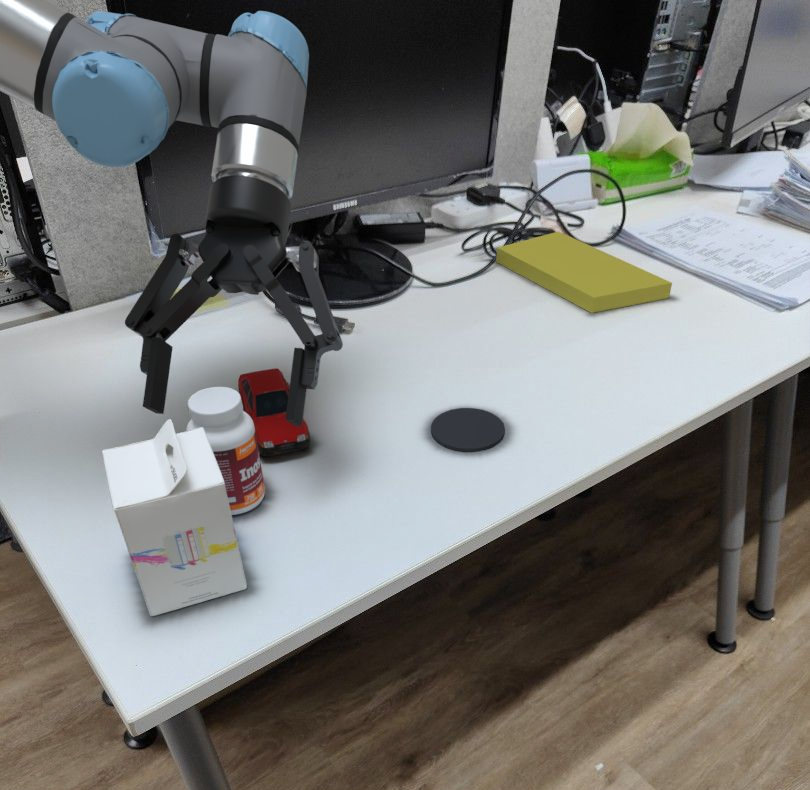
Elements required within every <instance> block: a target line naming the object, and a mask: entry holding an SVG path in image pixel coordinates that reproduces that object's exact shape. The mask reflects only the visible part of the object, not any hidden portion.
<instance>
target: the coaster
mask: <svg viewBox="0 0 810 790" xmlns="http://www.w3.org/2000/svg"><path fill="white" fill-rule="evenodd" d="M430 433H431V436H432V438H433V440H435V442H436V443H438V444H439V445H441V446H443V447H444V448H447V449H450V450H453V451H458V452H471V453H472V452H480V451H486V450H488V449H491V448H493V447H495V446H497V445H498V444H499V443H500V442H501V441H502V440H503V439H504V436H505V433H506V426H505V424H504V421H503V420H502V419H501V418H500V417H498V416H497V415H496V414H494V413H492V412H490V411H487V410H484V409H481V408H475V407H460V408H453V409H449V410H446V411H445V412H442V413H440V414H439V415H437V416H436V417H435V418H434V419H433V420H432V422H431V425H430Z"/></svg>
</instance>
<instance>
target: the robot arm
mask: <svg viewBox="0 0 810 790" xmlns="http://www.w3.org/2000/svg"><path fill="white" fill-rule="evenodd" d="M309 64H310V53H309V46H308V43H307V40H306V38H305V36H304V35H303V34H302V32H301V31H300V29H298V27H297V26H296V25H295V24H294V23H292V22H291V21H289V20H288V19H287V18H285V17H283V16H281V15H280V14H277V13H273V12H270V11H265V10H257V11H256V12H255V13H251V12H244V13H242V14H240V15H239V16H238V17H237V18H236V19H235V20H234V22H233V23H232V26H231V29H230V31H229V33H228V35H223V34H218V33H216V34H213V33H208V32H207V33H206V32H203V31H198V30H193V29H189V28H185V27H180V26H176V25H172V24H168V23H163V22H159V21H154V20H152V19H151V20H150V19H146V18H143V17H138V16H137V15H136V14H134V13H128V12H127V13H124V14H121V13H116V12H110V11H104V10H103V11H102V10H98V11H94V12H93V13H91V14H90V15H89V16H88V17H87V20H86V21H85V20H83V19H81V18H80V17H77V16H76V15H74V14H72V13H70V11H69V10H68V9H65V8H64V7H62V6H61V5H59V4H57V3H56V2H54V1H52V0H0V92H2V93H3V94H6V95H8V96H9V97H11V98H13V99H14V100H17V101H18V102H20V103H22V104H24V105H26V106H27V107H29V108H31V109H33V110H35V111H37V112H39V113H41V114H42V115H44V116H46V117H48V118H49V119H51V120H53V121H54V122H55V123H56V125H57V128H58V129H59V132H60V133H61V134H62V136H63V137H64V138H65V140H66V141H67V143H68V144H69V145H70V147H72V148H73V149H74V150H75V151H76V152H77V153H78V155H80V156H81V157H83V158H85V159H86V160H88V161H90V162H92V163H94V164H97V165H99V166H103V167H107V168H123V167H128V166H131V165H134V164H135V163H137V162H139V161H141V160H142V159H144V158H145V157H147V156H148V155H150V154H151V153H152V152H153V151H155V150H157V148H158V146H159V145H160V143H161V142H162V141H163V140H164V139H165V137H166V135H167V132H168V130H169V128H171V127H172V125H173V124H174V123H175V122H176V121H179V122H183V123H188V124H189V123H190V124H194V125H199V126H203V127H207V128H217V133H216V143H215V149H214V155H213V162H212V169H211V175H210V177H211V181H212V182H211V184H210V187H209V193H208V198H207V207H206V215H205V231H204V235H203V236H202V238H201V240H200V241H197V240H190V239H185V238H184V237H183V236H182V235H181V234H180V233H178V232H177V233H173V234H171V235H170V237H169V241H168V243H167V249H166V253H165V256H164V258H163V259H162V261H161V263H160V264H159V266H158V267H157V269H156V270H155V272H154V274H153V275H152V277H151V278H150V280H149V281H148V283H147V285H146V286H145V287H144V289H143V291H142V292H141V294H140V295H139V297H138V298H137V300H136V302H135V303H134V305H133V306H132V308H131V310H130V311H129V313H128V315H127V316H126V317H125V320H124V325H125V327H126V328H128V329H129V330H131V331H132V332H133V333H135V334H136V335H138V336H140V337H142V346H141V356H140V362H139V369H140V372H141V373H143V374H144V375H146V377H145V378H146V379H145V387H144V393H143V400H142V407H143V408H145V409H147V410H148V411H151V412H153V413H155V414H160V415H164V414H165V407H166V398H167V392H168V385H169V378H170V369H171V362H172V357H173V356H172V355H173V346H172V345H171V344H170V343H168V342H167V341H168V340H169V338H171V336H173V335H174V334H175V333H176V332H177V331H178V330H179V328H180V327H182V326H183V325H184V324H185V323H186V322H187V321H188V320H189V319H190V318H191V317H192V316H193V315H194V314H195V313H196V312H197V311H198V310H199V309H200V308H201V307H202V306H203V305H204V304H205V303H206V302H207V301H208V300H209V299H210V298H215V297H216V296H217V295H218V294H219V293H220V292H221V291H222V290H223V291H224V292H226V294H239V293H245V294H248V295H254V296H258V295H260V293H262V292H264V291H266V290H267V292H268V294H269V295H270V297H271V298H272V299H273V301H274V302H275V304H276V306H277V307H278V308H279V310H280V311H281V313H282V314H283V316H284V317H285V319H286V320H287V322H288V323H289V325H290V327H291V328H292V329H293V330H294V332H295V334H296V335H297V337H298V339H299V340H300V341H301V343H302V344H303V345H304V348H302V347H294V349H293V357H292V362H291V363H292V364H291V372H290V378H289V379H290V381H289V386H290V387H289V395H288V403H287V411H286V420H287V421H288V422H290V423H291V424H292V425H294V426H302V421H303V420H304V414H305V413H304V412H305V405H306V397H307V390H313V391H315V389H316V388H317V386H318V383H319V375H320V366H321V359H322V357H323V356H324V354H326V353H328V352H331V351H334V352H338V351H340V350H342V348H343V346H344V343H343V340H342V337H341V334H340V331H339V329H338V325H337V323H336V321H335V320H336V319H335V318H334V315H333V312H332V310H331V309H332V308H331V307H330V303H329V301H328V298H327V295H326V291H325V289H324V287H323V284H322V282H321V278H320V276H319V272H320V271H319V269H320V268H319V267H320V266H319V264H320V257H319V254H318V252H317V251H316V249H315V247H314V246H313V244H312V243H311V241H310V240H302V241H301V242H300V243H299V245H298V246H288V245H287V240H288V237H289V236H288V235H289V227H290V221H291V213H292V203H291V199H292V198H293V195H294V189H295V188H294V187H295V180H296V172H297V165H298V158H299V149H300V148H299V147H300V141H301V135H302V127H303V121H304V114H305V106H306V100H307V92H308V91H307V89H308V77H309ZM199 257H200V259H201V261H202V263H201V264H200V265H199V266H197V268H196V269H195V270H193V272H192V273H191V276H190V277H191V278H190V279H189V280H188V281H187V282H186V283H185V284H184V285H183V286H182V287H181V288H180V289H179V290H178V291H177V289H178V287H179V286H180V284H181V283H182V281H183V280H184V278H185V276H186V275H187V273H188V270H189V268H190V266H194V265H195V264H196V259H197V258H199ZM289 263H292V265H293V267H294V268H295V270H296V271H297V272H299V273H300V276H301V278H302V280H303V284H304V286H305V289H306V292H307V294H308V298H309V301H310V303H311V306H312V309H313V312H314V314H315V317H316V319H317V323H318V325H319V328H320V331H321V333H320V334H317V335H315V333H314V332H313V331H312V329H311V328H310V326H309V325H308V323H307V322H306V320H305V319H304V317H303V316H302V314H301V313H300V311H299V310H298V308H297V307H296V305H295V303H294V302H293V301H292V299H291V298H290V296H289V295H288V293H287V291H286V290H285V289H284V287H283V286H282V284H281V283H280V281H279V280H278V276H279V275H280V274H281V273H282V272H283V270H284V269H285V268H286V267H287V266H288V265H289ZM210 278H211V279H210ZM209 279H210V280H209ZM176 291H177V292H176ZM175 292H176V293H175Z"/></svg>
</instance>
